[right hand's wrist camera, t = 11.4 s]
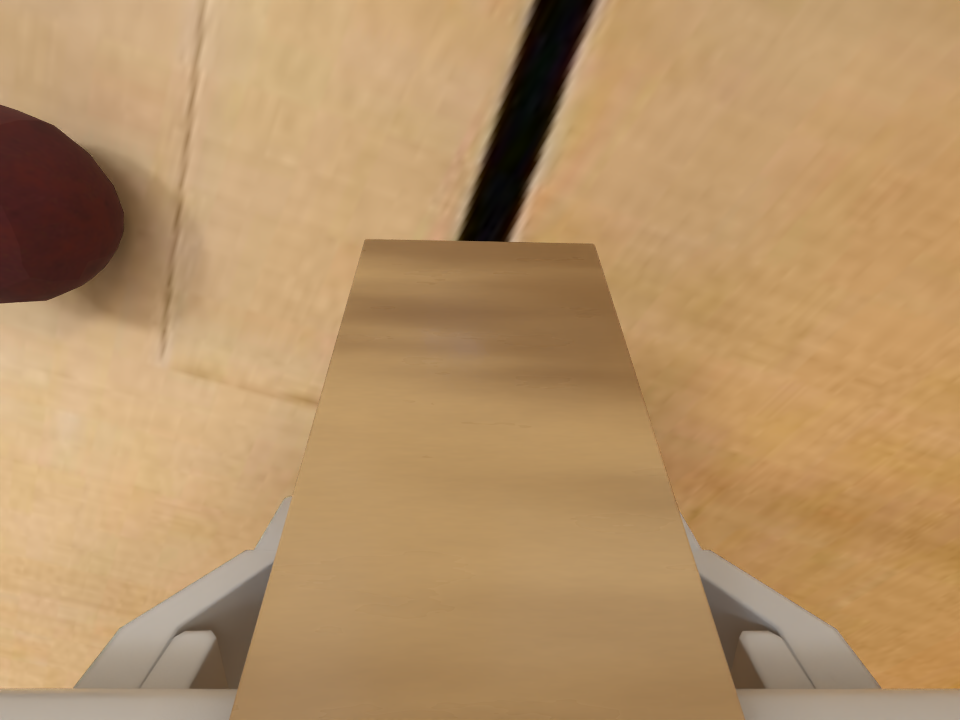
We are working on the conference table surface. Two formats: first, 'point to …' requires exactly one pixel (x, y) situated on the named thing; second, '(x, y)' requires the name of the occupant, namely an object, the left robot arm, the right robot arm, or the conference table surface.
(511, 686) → the bar
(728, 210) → the conference table surface
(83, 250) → the dark red ball
